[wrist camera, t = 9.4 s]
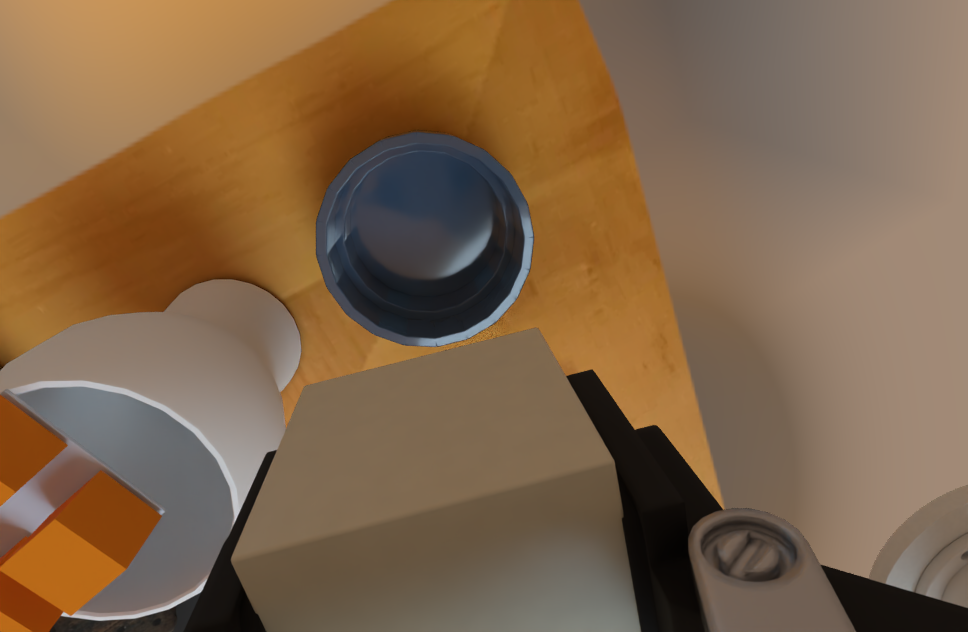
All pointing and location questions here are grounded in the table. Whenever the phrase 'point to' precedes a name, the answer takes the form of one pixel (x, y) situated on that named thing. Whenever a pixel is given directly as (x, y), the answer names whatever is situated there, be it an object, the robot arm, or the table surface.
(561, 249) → the table surface
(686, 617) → the robot arm
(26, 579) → the building block
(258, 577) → the block
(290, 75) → the table surface
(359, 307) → the bowl
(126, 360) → the cup
